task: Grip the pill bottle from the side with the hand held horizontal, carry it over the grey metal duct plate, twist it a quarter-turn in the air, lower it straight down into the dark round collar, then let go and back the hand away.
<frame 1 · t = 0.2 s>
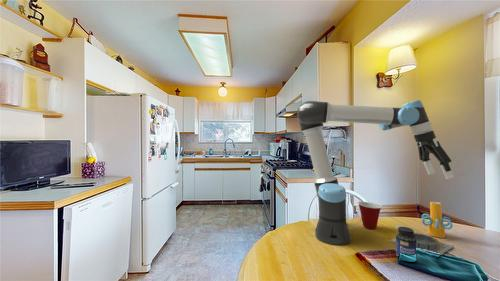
hand: (440, 176, 98), 27 cm above the table, tool tilted 20°, fingers open, 13 cm apart
cylinder: (436, 235, 98), on the table
plastic cup: (370, 228, 108), on the table
duct plate: (420, 244, 89), on the table
pill bottle: (406, 259, 78), on the table
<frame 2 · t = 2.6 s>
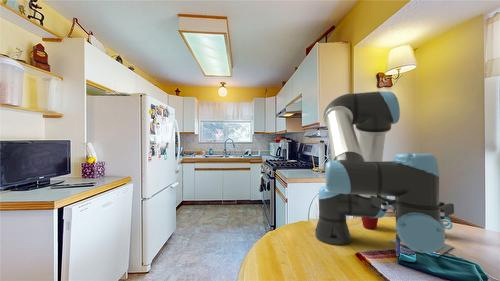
hand: (406, 198, 71), 24 cm above the table, tool horizontal, fingers open, 13 cm apart
nothing on the table moved.
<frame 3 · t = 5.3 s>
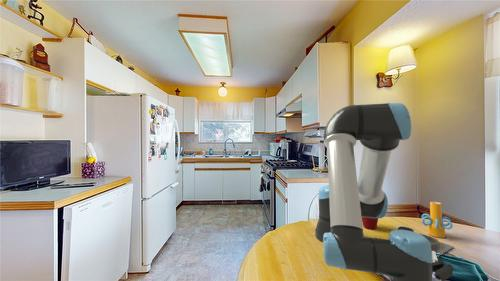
hand: (407, 249, 73), 6 cm above the table, tool horizontal, fingers open, 13 cm apart
nothing on the table moved.
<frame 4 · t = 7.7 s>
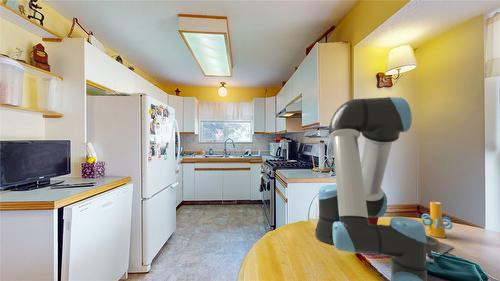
hand: (405, 236, 83), 7 cm above the table, tool horizontal, fingers closed on pill bottle, 6 cm apart
pill bottle: (406, 259, 78), on the table, touching gripper
everything else where it was.
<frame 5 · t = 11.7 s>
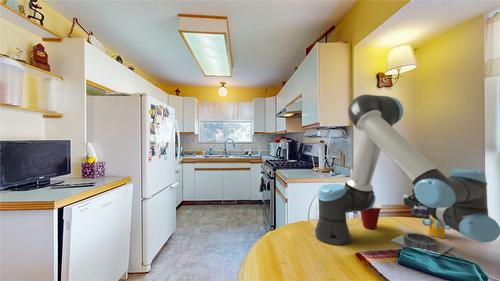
hand: (413, 197, 94), 18 cm above the table, tool horizontal, fingers closed on pill bottle, 6 cm apart
pill bottle: (420, 216, 89), point 12 cm above the table, touching gripper
everything else where it was.
when the fingers open (8 cm above the table, at t = 15.5 s): pill bottle drops 1 cm, resting on duct plate.
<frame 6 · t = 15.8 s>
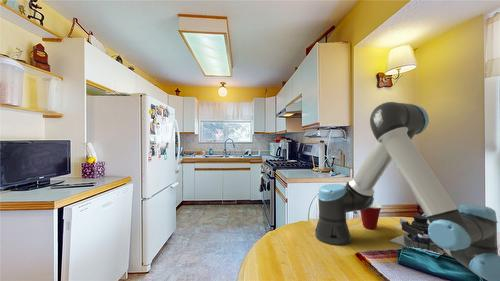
hand: (414, 221, 94), 8 cm above the table, tool horizontal, fingers open, 10 cm apart
pill bottle: (420, 243, 89), resting on duct plate
everything else where it was.
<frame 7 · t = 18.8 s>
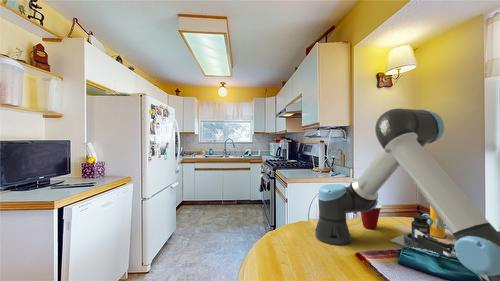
hand: (435, 234, 80), 8 cm above the table, tool horizontal, fingers open, 13 cm apart
nothing on the table moved.
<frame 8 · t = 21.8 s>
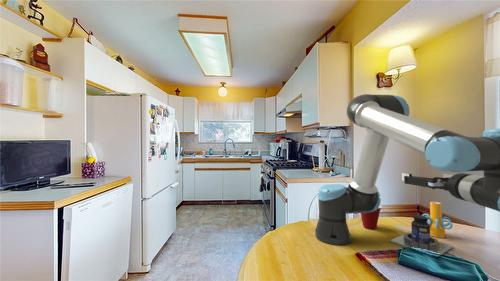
hand: (423, 177, 79), 30 cm above the table, tool horizontal, fingers open, 13 cm apart
nothing on the table moved.
at the end: pill bottle 0.1 cm off-centre on the duct plate, point 0.4 cm above the duct plate's base; pill bottle tilted 0°; the gripper is holding nothing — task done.
